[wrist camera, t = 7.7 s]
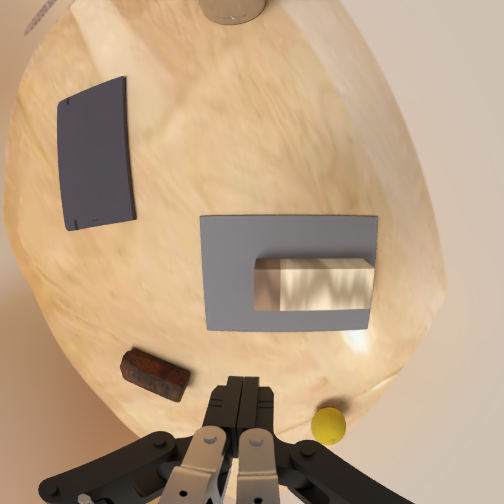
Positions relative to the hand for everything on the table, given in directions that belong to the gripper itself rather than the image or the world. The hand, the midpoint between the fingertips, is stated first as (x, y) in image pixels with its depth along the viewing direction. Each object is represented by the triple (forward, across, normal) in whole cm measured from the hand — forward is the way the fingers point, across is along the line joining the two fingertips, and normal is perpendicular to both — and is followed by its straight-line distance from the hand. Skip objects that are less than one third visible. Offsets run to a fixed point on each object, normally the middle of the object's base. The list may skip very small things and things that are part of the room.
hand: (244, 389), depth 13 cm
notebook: (+26, +24, -16) cm, 39 cm away
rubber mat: (+25, -4, +2) cm, 26 cm away
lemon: (+25, -10, +26) cm, 38 cm away
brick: (+26, +17, +18) cm, 35 cm away
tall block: (+22, +1, +2) cm, 23 cm away
